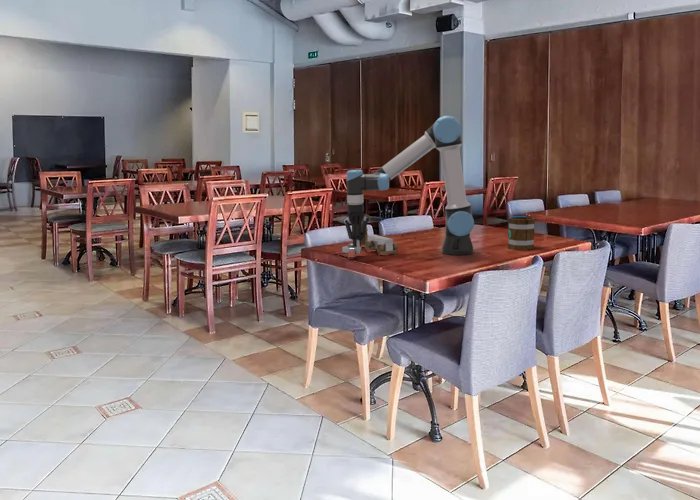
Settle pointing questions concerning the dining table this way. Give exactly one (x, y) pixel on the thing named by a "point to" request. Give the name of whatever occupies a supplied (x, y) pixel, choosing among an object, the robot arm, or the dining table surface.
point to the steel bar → (381, 242)
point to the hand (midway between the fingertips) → (357, 253)
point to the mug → (521, 233)
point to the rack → (381, 248)
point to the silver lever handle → (349, 250)
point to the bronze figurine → (365, 232)
